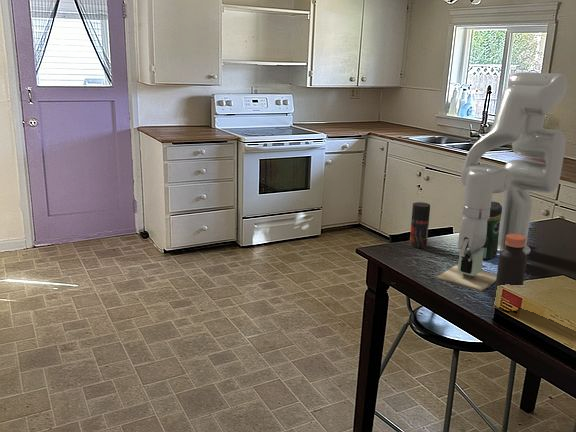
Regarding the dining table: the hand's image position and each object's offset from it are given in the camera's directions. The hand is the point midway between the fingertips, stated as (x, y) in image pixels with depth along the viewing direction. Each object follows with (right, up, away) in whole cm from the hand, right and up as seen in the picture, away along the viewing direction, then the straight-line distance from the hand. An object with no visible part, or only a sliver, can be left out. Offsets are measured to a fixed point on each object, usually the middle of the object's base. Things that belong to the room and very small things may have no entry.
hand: (469, 269), depth 169 cm
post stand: (0, -3, +1) cm, 3 cm away
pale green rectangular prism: (0, -1, 0) cm, 1 cm away
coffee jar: (+11, +2, +20) cm, 23 cm away
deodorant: (-9, +5, +29) cm, 31 cm away
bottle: (+4, -9, -18) cm, 20 cm away
